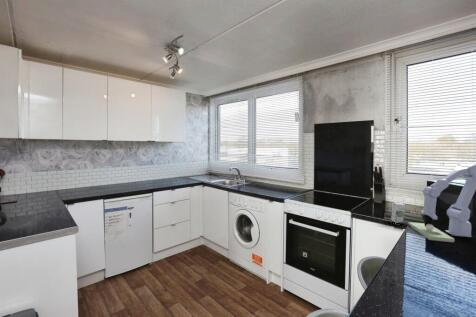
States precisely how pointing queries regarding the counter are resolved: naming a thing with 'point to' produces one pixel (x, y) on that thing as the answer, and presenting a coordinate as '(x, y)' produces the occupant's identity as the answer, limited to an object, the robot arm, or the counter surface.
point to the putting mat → (431, 232)
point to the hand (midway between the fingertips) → (427, 227)
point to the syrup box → (397, 212)
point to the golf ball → (429, 227)
